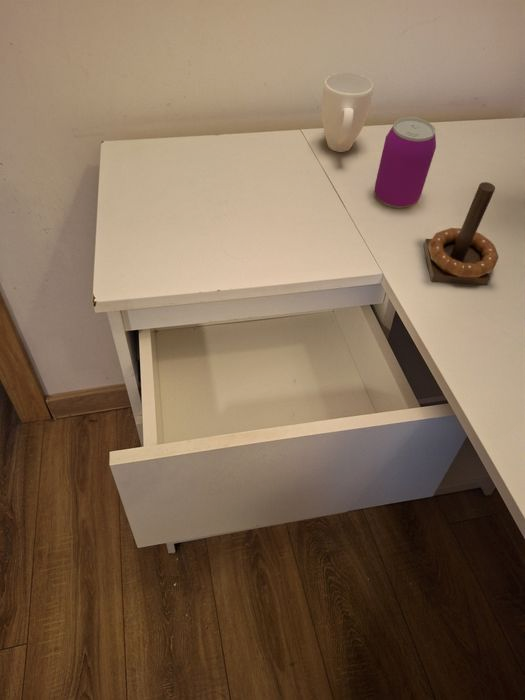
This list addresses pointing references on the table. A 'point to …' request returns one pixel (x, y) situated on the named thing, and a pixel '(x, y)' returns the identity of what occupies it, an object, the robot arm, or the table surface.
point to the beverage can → (405, 162)
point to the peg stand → (464, 241)
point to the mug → (345, 108)
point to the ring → (456, 266)
